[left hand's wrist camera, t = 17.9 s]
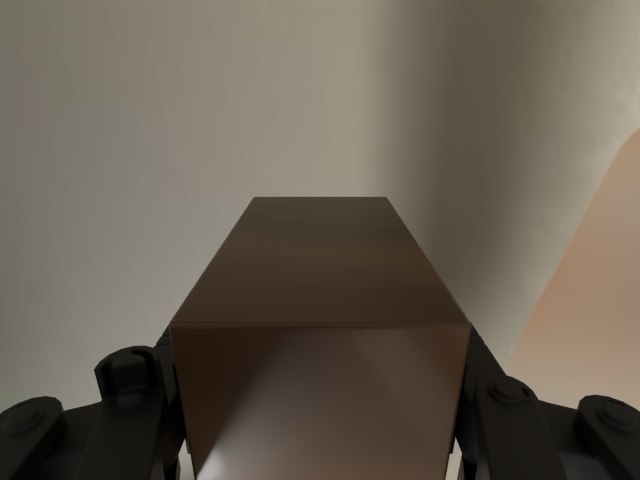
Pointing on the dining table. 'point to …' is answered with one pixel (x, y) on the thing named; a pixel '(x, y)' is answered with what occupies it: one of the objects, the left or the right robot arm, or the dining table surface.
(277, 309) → the bar
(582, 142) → the dining table surface
